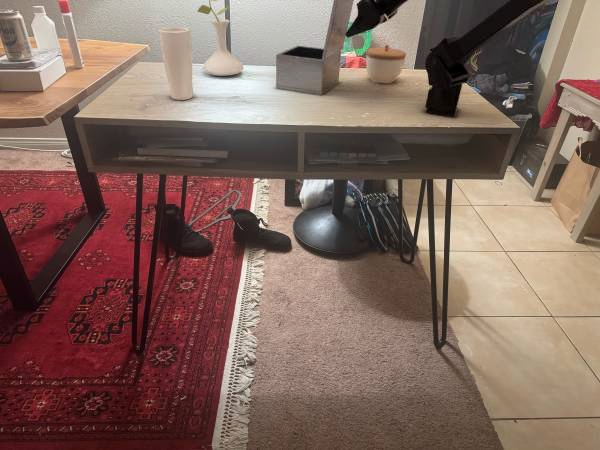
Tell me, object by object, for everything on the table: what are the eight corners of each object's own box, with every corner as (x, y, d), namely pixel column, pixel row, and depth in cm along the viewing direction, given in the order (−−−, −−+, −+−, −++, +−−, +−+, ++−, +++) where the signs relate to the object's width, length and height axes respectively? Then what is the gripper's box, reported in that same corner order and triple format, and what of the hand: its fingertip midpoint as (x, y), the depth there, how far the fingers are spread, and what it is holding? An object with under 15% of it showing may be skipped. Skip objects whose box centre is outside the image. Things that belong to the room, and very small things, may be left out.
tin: (276, 88, 111) (276, 54, 107) (296, 76, 122) (297, 45, 117) (321, 95, 108) (323, 60, 103) (338, 82, 118) (341, 50, 114)
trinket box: (402, 87, 116) (408, 50, 111) (362, 84, 117) (366, 47, 112) (400, 77, 125) (406, 42, 120) (363, 74, 126) (367, 40, 121)
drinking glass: (181, 91, 106) (174, 25, 98) (202, 96, 103) (196, 29, 95) (161, 98, 101) (151, 29, 93) (182, 103, 98) (174, 33, 90)
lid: (334, -5, 95) (337, -4, 95) (352, -9, 105) (355, -8, 105) (321, 58, 103) (325, 59, 103) (339, 48, 113) (342, 49, 113)
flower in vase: (251, 72, 124) (248, -28, 110) (228, 81, 115) (221, -26, 102) (215, 66, 129) (207, -31, 115) (190, 74, 120) (179, -29, 107)
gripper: (392, -48, 100) (342, 1, 110) (372, -47, 86) (317, 9, 95) (419, -7, 102) (368, 38, 112) (404, 1, 88) (347, 51, 97)
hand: (351, 33), depth 104 cm, fingers open, 7 cm apart
